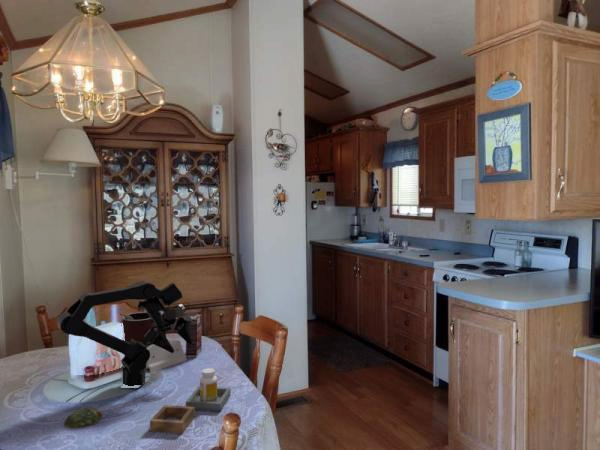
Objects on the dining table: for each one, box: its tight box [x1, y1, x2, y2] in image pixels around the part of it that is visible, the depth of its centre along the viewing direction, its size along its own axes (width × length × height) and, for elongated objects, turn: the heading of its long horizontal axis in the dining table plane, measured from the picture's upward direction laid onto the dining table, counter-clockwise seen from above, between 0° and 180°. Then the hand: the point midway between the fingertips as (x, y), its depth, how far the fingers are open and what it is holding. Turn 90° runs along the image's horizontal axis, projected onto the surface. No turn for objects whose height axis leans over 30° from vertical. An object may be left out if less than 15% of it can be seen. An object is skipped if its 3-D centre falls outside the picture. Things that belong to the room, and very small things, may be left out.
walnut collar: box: [149, 404, 196, 435], centre depth 122 cm, size 9×9×3 cm
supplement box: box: [185, 313, 203, 359], centre depth 178 cm, size 9×5×16 cm, turn 179°
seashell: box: [63, 406, 103, 429], centre depth 124 cm, size 10×4×10 cm
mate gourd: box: [119, 311, 156, 347], centre depth 173 cm, size 16×14×20 cm
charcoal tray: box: [185, 385, 231, 413], centre depth 136 cm, size 11×11×2 cm
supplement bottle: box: [199, 367, 218, 402], centre depth 135 cm, size 5×5×10 cm
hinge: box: [144, 339, 188, 373], centre depth 168 cm, size 17×5×10 cm, turn 140°
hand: (182, 347), depth 146 cm, fingers open, 9 cm apart
